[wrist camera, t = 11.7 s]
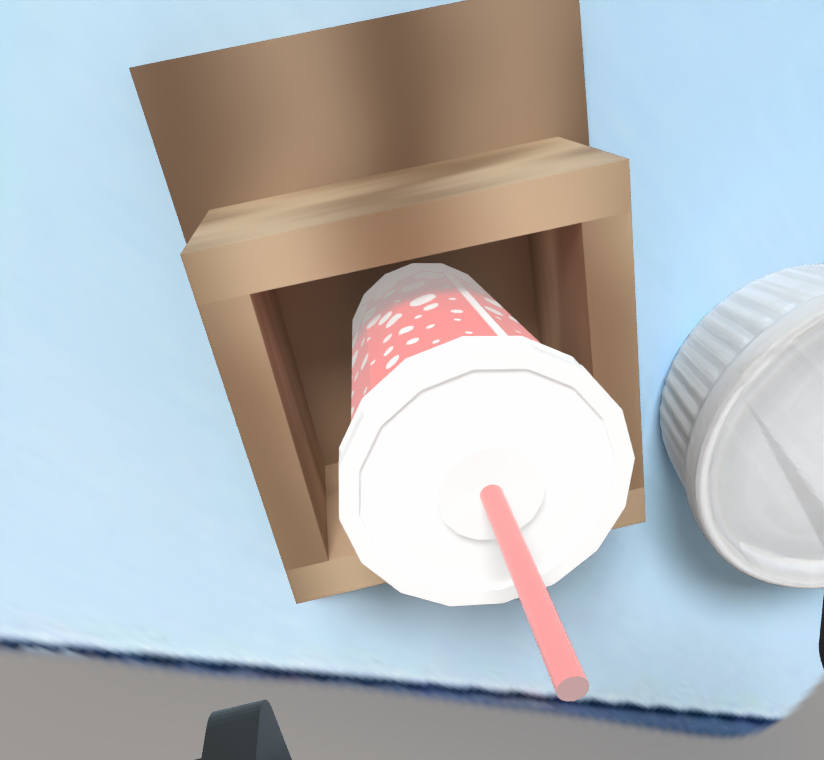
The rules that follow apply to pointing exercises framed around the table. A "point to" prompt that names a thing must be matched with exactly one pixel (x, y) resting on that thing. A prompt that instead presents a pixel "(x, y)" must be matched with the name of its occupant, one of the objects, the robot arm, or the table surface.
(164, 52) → the table surface
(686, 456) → the ramekin
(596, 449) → the beverage cup
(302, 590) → the cup holder
